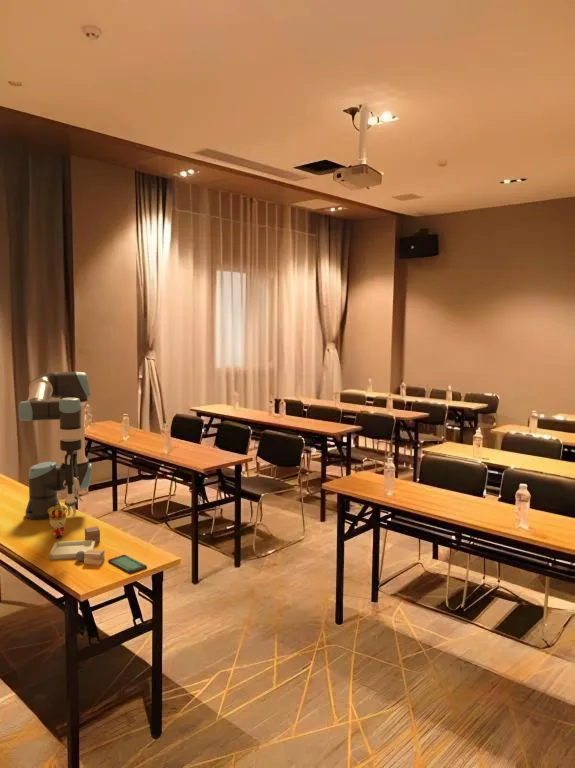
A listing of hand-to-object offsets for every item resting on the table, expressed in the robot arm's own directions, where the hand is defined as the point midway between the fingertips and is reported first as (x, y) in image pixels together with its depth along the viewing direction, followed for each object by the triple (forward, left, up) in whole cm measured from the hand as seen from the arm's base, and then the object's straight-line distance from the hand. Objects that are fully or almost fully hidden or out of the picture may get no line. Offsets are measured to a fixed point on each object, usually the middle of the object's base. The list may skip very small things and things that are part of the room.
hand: (71, 498), depth 217 cm
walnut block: (-10, +6, -21) cm, 24 cm away
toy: (-16, -8, -21) cm, 28 cm away
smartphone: (+16, +21, -21) cm, 34 cm away
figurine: (0, 0, -7) cm, 7 cm away
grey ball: (+9, +4, -21) cm, 23 cm away
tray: (0, 0, -21) cm, 21 cm away
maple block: (+11, +9, -21) cm, 25 cm away
